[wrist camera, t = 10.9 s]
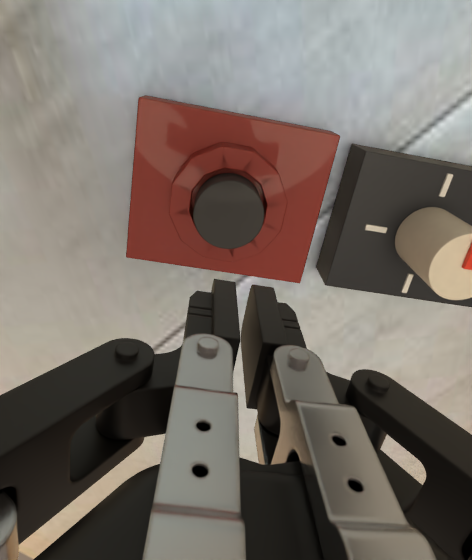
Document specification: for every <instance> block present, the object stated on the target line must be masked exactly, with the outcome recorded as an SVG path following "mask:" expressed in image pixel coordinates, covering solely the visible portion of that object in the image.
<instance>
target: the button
mask: <svg viewBox="0 0 472 560" xmlns="http://www.w3.org/2000/svg"><path fill="white" fill-rule="evenodd" d="M193 219H194V224H195V227H196V229H197V231H198V233H199V234H200V236H201V237H202V238H203V239H204V240H205V241H206V242H208V243H209V244H211V245H213V246H215V247H218V248H223V249H235V248H239V247H242V246H244V245H246V244H248V243H250V242H251V241H252V240H253V239H254V238H255V237H256V236H257V235H258V234H259V232H260V230H261V228H262V226H263V222H264V207H263V203H262V200H261V197H260V195H259V192H258V190H257V188H256V187H255V186H254V184H253V183H252V182H251V181H249V180H248V179H247V178H245V177H243V176H241V175H238V174H234V173H223V174H218V175H215V176H213V177H211V178H210V179H208V180H207V181H206V182H205V183H204V184H203V185H202V186H201V187H200V189H199V191H198V193H197V195H196V199H195V204H194V211H193Z"/></svg>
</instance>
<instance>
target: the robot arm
mask: <svg viewBox="0 0 472 560" xmlns="http://www.w3.org/2000/svg"><path fill="white" fill-rule="evenodd" d="M239 343H240V330H239V318H238V307H237V295H236V284H235V282H231V281H224V280H217V279H214V281H213V286H212V291H211V293H209V292H202V291H196V292H195V293H194V294H193V295H192V296H191V297H190V300H189V307H188V313H187V320H186V326H185V333H184V340H183V344H182V346H181V347H180V348H178V349H177V350H175V351H172V352H169V353H163V354H154V351H153V349H152V348H151V347H150V346H149V345H148V344H146V343H144V342H142V341H140V340H136V339H130V338H122V339H115V340H111V341H109V342H107V343H105V344H103V345H101V346H99V347H97V348H95V349H93V350H91V351H89V352H87V353H85V354H83V355H81V356H79V357H77V358H75V359H73V360H71V361H69V362H67V363H65V364H63V365H61V366H59V367H57V368H55V369H53V370H50V371H48V372H46V373H44V374H42V375H40V376H38V377H36V378H34V379H32V380H30V381H28V382H26V383H24V384H22V385H20V386H18V387H16V388H14V389H12V390H10V391H8V392H6V393H4V394H2V395H0V560H18V555H19V544H20V543H22V542H23V541H24V540H25V539H26V538H28V537H29V536H30V535H31V534H33V533H34V532H35V531H36V530H38V529H39V528H40V527H41V526H42V525H44V524H45V523H46V522H47V521H49V520H50V519H51V518H52V517H54V516H55V515H56V514H57V513H58V512H60V511H61V510H62V509H63V508H65V507H66V506H67V505H68V504H70V503H71V502H72V501H73V500H75V499H76V498H77V497H78V496H79V495H81V494H82V493H83V492H84V491H86V490H87V489H88V488H89V487H91V486H92V485H93V484H94V483H95V482H97V481H98V480H99V479H100V478H102V477H103V476H104V475H105V474H107V473H108V472H109V471H110V470H112V469H113V468H114V467H115V466H116V465H118V464H119V463H120V462H121V461H123V460H124V459H125V458H126V457H128V456H129V455H130V454H131V453H132V452H134V451H135V450H136V449H137V448H138V447H139V446H140V445H141V444H142V443H143V441H144V437H147V436H153V435H159V434H165V433H166V434H165V440H164V446H163V451H162V457H161V462H160V464H158V465H155V466H152V467H149V468H147V469H145V470H143V471H141V472H139V473H137V474H135V475H134V476H132V477H131V478H129V479H128V480H127V481H125V482H124V483H123V484H121V485H120V486H119V487H118V488H117V489H116V490H114V491H113V492H112V493H111V494H110V495H109V496H107V497H106V498H105V499H104V500H103V501H102V502H100V503H99V504H98V505H97V506H96V507H95V508H93V509H92V510H91V511H90V512H89V513H88V514H86V515H85V516H84V517H83V518H82V519H81V520H79V521H78V522H77V523H76V524H75V525H73V526H72V527H71V528H70V529H69V530H68V531H66V532H65V533H64V534H63V535H62V536H61V537H59V538H58V539H57V540H56V541H55V542H54V543H52V544H51V545H50V546H49V547H48V548H47V549H45V550H44V551H43V552H42V553H41V554H40V555H38V556H37V557H36V558H35V559H34V560H472V435H471V434H470V433H468V432H467V431H465V430H464V429H463V428H461V427H460V426H458V425H457V424H455V423H454V422H453V421H451V420H450V419H448V418H447V417H445V416H444V415H443V414H441V413H440V412H438V411H437V410H435V409H434V408H433V407H431V406H430V405H428V404H427V403H425V402H424V401H423V400H421V399H420V398H418V397H417V396H415V395H414V394H413V393H411V392H410V391H408V390H407V389H406V388H404V387H403V386H401V385H400V384H398V383H397V382H396V381H394V380H393V379H391V378H390V377H388V376H386V375H384V374H382V373H380V372H377V371H373V370H358V371H356V372H354V373H353V375H352V377H351V380H347V379H344V378H341V377H338V376H335V375H332V374H330V373H328V372H326V371H325V369H324V366H323V364H322V361H321V359H320V358H319V357H318V356H317V355H316V354H315V353H313V352H312V351H310V350H308V349H307V347H306V344H305V341H304V338H303V335H302V332H301V330H300V326H299V323H298V320H297V317H296V314H295V312H294V311H293V310H292V309H291V308H290V307H289V306H288V305H287V304H286V303H279V302H277V299H276V295H275V291H274V288H272V287H265V286H258V285H252V286H251V289H250V292H249V297H248V301H247V306H246V311H245V315H244V320H243V324H242V330H241V350H242V361H243V372H244V383H245V395H246V406H247V408H250V409H257V411H258V415H257V419H256V423H255V427H254V432H255V439H256V446H257V453H258V460H259V463H255V462H252V461H249V460H246V459H243V458H240V457H239V420H238V394H237V393H234V392H233V370H234V366H235V361H236V357H237V352H238V348H239ZM387 434H388V435H389V436H390V437H391V438H393V439H394V440H395V441H396V442H398V443H399V444H400V445H401V446H403V447H404V448H405V449H406V450H407V451H409V452H410V453H411V454H412V455H414V456H415V457H416V458H417V459H418V460H419V461H420V462H421V463H422V464H423V466H424V468H425V470H426V480H425V482H424V484H423V485H422V484H420V483H419V482H418V481H417V480H416V479H414V478H413V477H412V476H411V475H410V474H408V473H407V472H406V471H405V470H404V469H403V468H401V467H400V466H399V465H398V464H397V463H396V462H394V461H393V460H392V459H391V458H390V457H388V456H387V455H386V454H385V453H384V452H383V451H381V450H380V448H381V446H382V444H383V442H384V439H385V437H386V435H387Z"/></svg>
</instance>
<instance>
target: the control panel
mask: <svg viewBox="0 0 472 560" xmlns="http://www.w3.org/2000/svg"><path fill="white" fill-rule="evenodd" d="M427 207H438V208H441V209H444V210H446V211H448V212H449V213H451V214H453V215H454V216H456V217H458V218H459V219H461V220H463V221H464V222H466V223H468V224H469V225H471V226H472V166H467V165H462V164H457V163H451V162H446V161H441V160H436V159H430V158H425V157H420V156H415V155H409V154H404V153H399V152H394V151H388V150H383V149H378V148H373V147H367V146H362V145H357V144H352V145H351V148H350V152H349V155H348V159H347V162H346V166H345V169H344V173H343V176H342V180H341V183H340V187H339V190H338V194H337V197H336V201H335V204H334V208H333V211H332V215H331V218H330V222H329V225H328V228H327V232H326V235H325V239H324V242H323V246H322V249H321V253H320V256H319V260H318V263H317V267H316V268H317V270H318V272H319V274H320V276H321V277H322V279H323V281H324V283H325V285H327V286H334V287H341V288H347V289H354V290H361V291H367V292H374V293H381V294H387V295H394V296H401V297H407V298H414V299H421V300H427V301H434V302H441V303H447V304H454V305H461V306H467V307H472V297H471V298H468V299H464V300H449V299H446V298H443V297H441V296H439V295H438V294H436V293H435V292H434V291H433V290H432V289H431V288H430V287H429V286H428V285H427V284H426V283H425V282H424V281H423V280H422V279H421V278H420V277H419V276H418V275H417V274H416V273H415V272H414V271H413V270H412V269H411V268H410V266H409V265H408V264H407V263H406V262H405V261H404V260H403V259H402V258H401V257H400V256H399V255H398V253H397V251H396V248H395V236H396V233H397V230H398V228H399V226H400V225H401V223H402V222H403V221H404V220H405V219H406V218H407V217H408V216H409V215H410V214H412V213H413V212H415V211H417V210H419V209H422V208H427Z"/></svg>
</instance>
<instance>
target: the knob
mask: <svg viewBox="0 0 472 560" xmlns="http://www.w3.org/2000/svg"><path fill="white" fill-rule="evenodd" d="M395 248H396V251H397V253H398V255H399V256H400V257H401V258H402V259H403V260H404V261H405V262H406V263H407V264H408V265H409V266H410V268H411V269H412V270H413V271H414V272H415V273H416V274H417V275H418V276H419V277H420V278H421V279H422V280H423V281H424V282H425V283H426V284H427V285H428V286H429V287H430V288H431V289H432V290H433V291H434V292H435V293H436V294H438V295H439V296H441V297H443V298H446V299H449V300H464V299H468V298H471V297H472V226H471V225H469V224H468V223H466V222H464V221H463V220H461V219H459V218H458V217H456V216H454V215H453V214H451V213H449V212H448V211H446V210H444V209H441V208H438V207H427V208H422V209H419V210H417V211H415V212H413V213H412V214H410V215H409V216H408V217H407V218H406V219H405V220H404V221H403V222H402V223H401V225H400V226H399V228H398V230H397V233H396V236H395Z"/></svg>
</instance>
